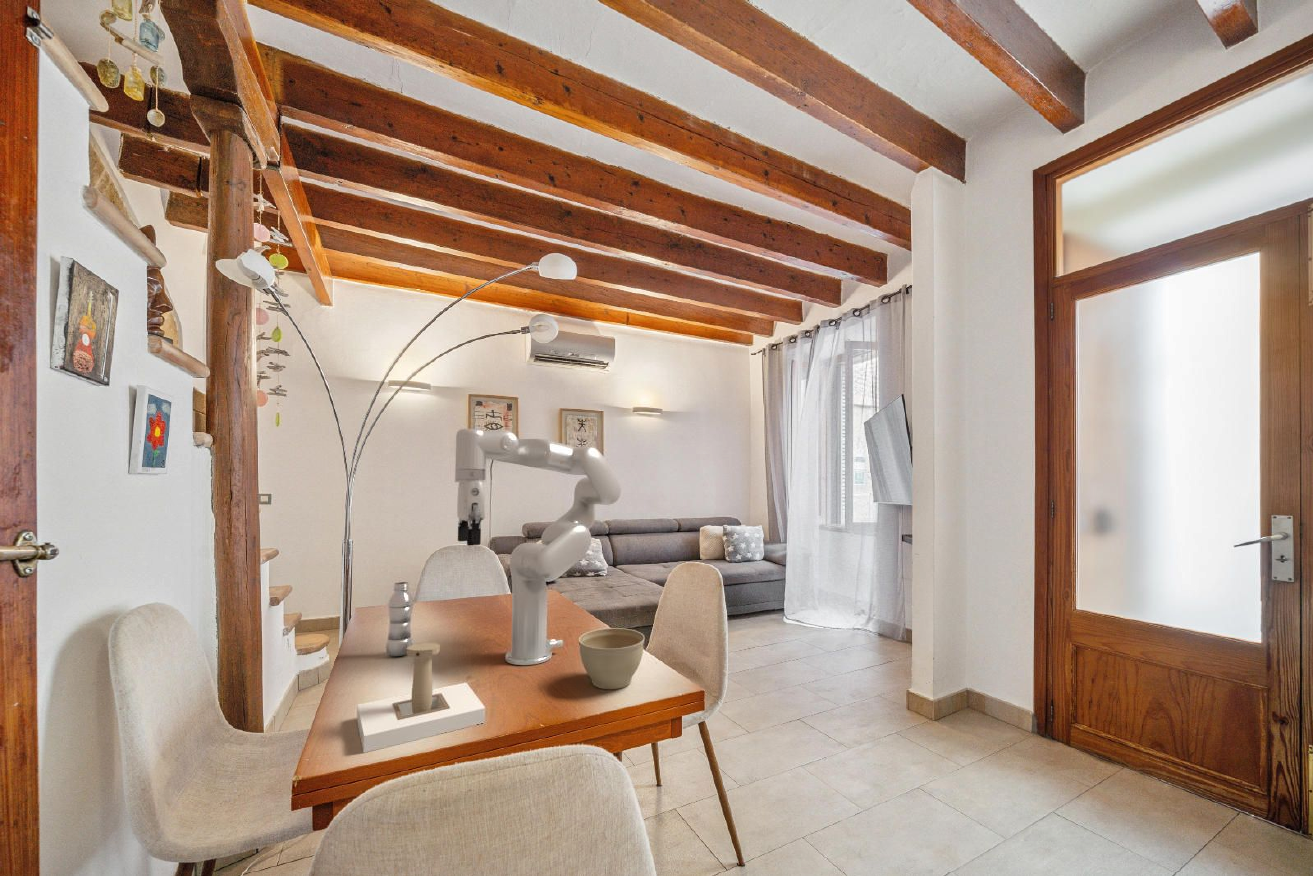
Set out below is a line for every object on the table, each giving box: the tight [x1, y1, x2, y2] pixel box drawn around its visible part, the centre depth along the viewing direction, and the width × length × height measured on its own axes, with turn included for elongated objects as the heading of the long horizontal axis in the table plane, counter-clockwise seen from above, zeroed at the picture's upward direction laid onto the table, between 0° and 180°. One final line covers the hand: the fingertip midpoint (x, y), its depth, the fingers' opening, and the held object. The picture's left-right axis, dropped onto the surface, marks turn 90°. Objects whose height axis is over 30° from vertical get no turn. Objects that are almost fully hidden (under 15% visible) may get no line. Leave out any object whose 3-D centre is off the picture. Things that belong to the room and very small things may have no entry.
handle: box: [406, 642, 441, 714], centre depth 112 cm, size 5×6×15 cm
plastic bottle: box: [385, 581, 415, 657], centre depth 152 cm, size 6×7×20 cm
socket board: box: [356, 682, 486, 754], centre depth 111 cm, size 22×16×3 cm
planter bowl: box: [578, 627, 645, 690], centre depth 132 cm, size 16×16×11 cm
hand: (468, 542), depth 138 cm, fingers open, 9 cm apart
